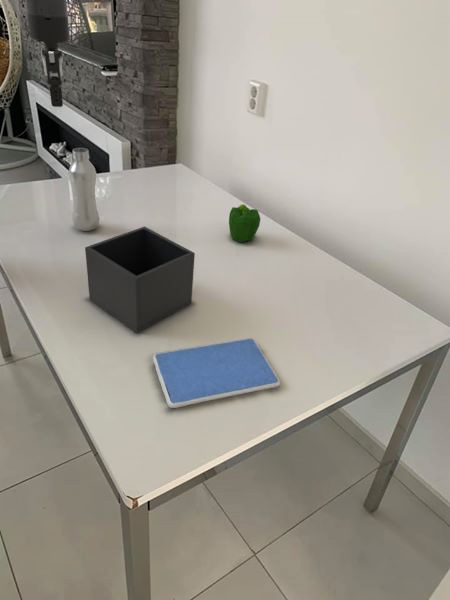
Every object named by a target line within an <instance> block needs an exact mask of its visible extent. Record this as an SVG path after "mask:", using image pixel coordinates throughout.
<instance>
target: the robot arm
mask: <svg viewBox="0 0 450 600" xmlns="http://www.w3.org/2000/svg"><path fill="white" fill-rule="evenodd" d="M24 2H25V11H26V18H27V24H28V33H29V37H30V39H31V40H34V41H37V42H42V43H43V44H44V49H41V51H40V53H41V54H40V55H41V60H42V62H43V71H44V75H45V76H46V77H47V80H46V83H47V85H48V87H49V94H50V95H49V96H50V103H51V106H52V107H53V108H62V107H63V106H64V101H63V91H62V86H63V81H62V77H63V76H64V72H63V62H64V59H63V51H62V50H59V43H68V42H70V40H71V36H70V35H71V34H70V24H69V23H70V22H69V13H68V12H69V11H68V1H67V0H24Z"/></svg>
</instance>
